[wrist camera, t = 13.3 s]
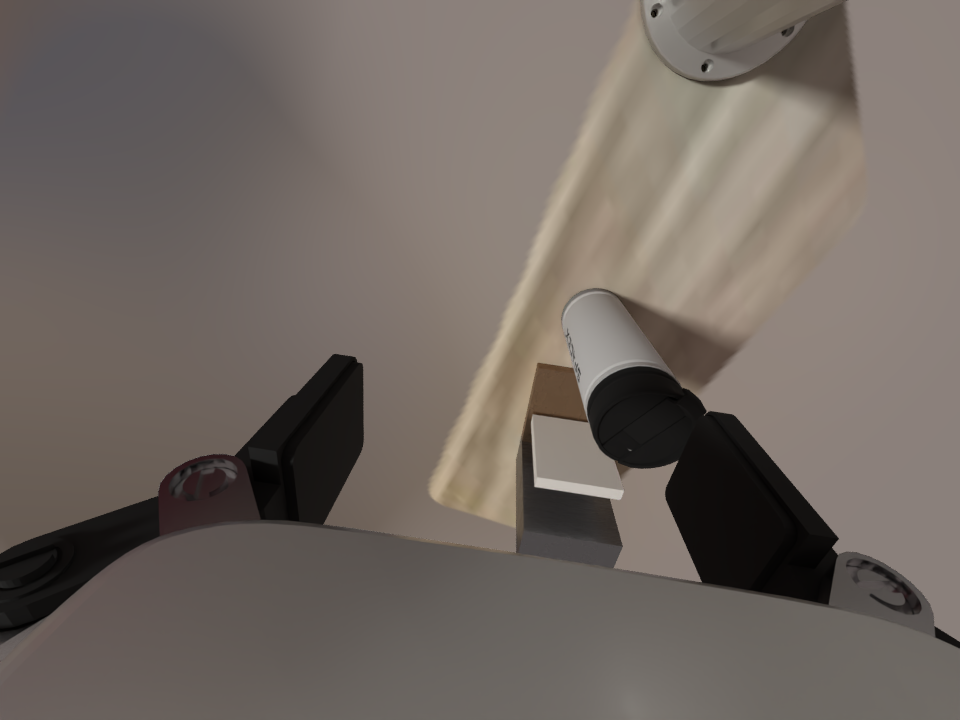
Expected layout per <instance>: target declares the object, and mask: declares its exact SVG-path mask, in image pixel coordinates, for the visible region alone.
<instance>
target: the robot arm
mask: <svg viewBox="0 0 960 720" xmlns="http://www.w3.org/2000/svg"><path fill="white" fill-rule="evenodd" d="M845 1H847V0H640V3H641V16H642V20H643V25H644V29H645V33H646V36H647V38H648V40H649V42H650V44H651V47H652V49H653V50H654V52H655V53H656V54H657V56H658V57H659V58H660V60H661V61H662V62H663V63H664V64H665V65H666V66H668V67H669V68H670V69H671V70H672V71H674V72H675V73H678V74H680V75H682V76H684V77H686V78H689V79H693V80H698V81H720V80H724V79H728V78H732V77H736V76H738V75H741V74H743V73H746V72H749V71H751V70H752V69H754V68H756V67H758V66H760V65H762V64H763V63H765V62H767V61H768V60H769V59H770V58H772V57H773V56H774V55H776V54H777V53H778V52H780V51H781V50H782V49H783V48H784V47H785V46H786V45H787V44H788V43H789V42H790V41H791V40H792V39H793V38H794V37H795V36H796V35H797V34H798V32H799V31H800V30H801V28H802V27H803V26H804V24H805V23H806V22H807V20H808V19H809V18H811V17H813V16H815V15H817V14H819V13H821V12H824V11H826V10H828V9H830V8H832V7H834V6H836V5H838V4H841V3H843V2H845ZM651 11H656V17H655V18H652V16H651ZM783 30H784V33H783V35H782V34H781V31H783ZM702 65H705V67H706V69H705V71H704V72H702V70H701V66H702ZM363 429H364V428H363V365H362V363H357V359H356V358H355V357H352V356H345V355H339V354H334V355H332V356H331V357H330V358H329V360H328V361H327V362H326V363H325V364H324V365H323V366H322V367H321V368H320V369H319V370H318V372H317V373H316V374H315V375H314V376H313V377H312V378H311V379H310V380H309V381H308V382H307V383H306V384H305V386H304V387H303V388H302V389H301V390H300V391H299V392H298V393H297V394H296V395H293V396H291V397H290V398H289V399H288V400H287V401H286V402H285V403H284V404H283V405H282V406H281V407H280V408H279V409H278V410H277V411H276V412H275V413H274V414H273V415H272V417H271V418H270V419H269V420H268V421H267V422H266V423H265V424H264V425H263V426H262V427H261V428H260V429H259V430H258V431H257V433H256V434H255V435H254V436H253V437H252V438H251V439H250V440H249V441H248V442H247V443H246V444H245V445H244V446H243V447H242V449H240V451H239V452H238V453H237V454H236V455H235V456H231V455H227V454H211V455H206V456H200V457H197V458H194V459H192V460H189V461H187V462H185V463H183V464H181V465H179V466H178V467H176V468H174V469H173V470H172V471H171V472H169V473H168V474H167V475H166V476H165V478H164V479H163V480H162V482H161V483H160V486H159V491H158V496H157V497H154V498H151V499H148V500H145V501H142V502H139V503H136V504H133V505H130V506H127V507H124V508H122V509H119V510H116V511H113V512H110V513H107V514H104V515H101V516H98V517H95V518H92V519H89V520H86V521H83V522H80V523H78V524H74V525H71V526H68V527H65V528H62V529H59V530H56V531H54V532H51V533H48V534H45V535H42V536H39V537H36V538H33V539H30V540H28V541H25V542H23V543H21V544H18V545H16V546H13V547H11V548H10V549H8V550H6V551H4V552H3V553H1V554H0V720H960V642H959V641H957V640H956V639H954V638H953V637H951V636H949V635H948V634H946V633H945V632H943V631H941V630H940V629H938V628H936V627H935V626H934V616H933V612H932V609H931V606H930V604H929V602H928V601H927V599H926V598H925V597H924V595H923V594H922V593H921V592H920V591H919V590H918V589H917V588H916V587H915V586H914V585H913V584H912V583H911V582H910V581H909V580H907V579H906V578H905V577H904V576H902V575H901V574H900V573H898V572H897V571H896V570H894V569H892V568H891V567H889V566H887V565H886V564H884V563H882V562H880V561H878V560H876V559H874V558H872V557H870V556H866V555H863V554H860V553H857V552H844V553H841V554H839V555H837V553H836V552H835V551H834V550H833V548H832V547H833V545H834V544H835V543H836V541H837V540H838V539H839V538H838V537H837V536H836V535H835V533H834V532H833V531H832V530H831V529H830V528H829V526H828V525H827V524H826V523H825V522H824V520H823V519H822V518H821V517H820V516H819V515H818V514H817V512H816V511H815V510H814V509H813V508H812V506H811V505H810V504H809V503H808V502H807V500H806V499H805V498H804V497H803V496H802V495H801V493H800V492H799V491H798V490H797V489H796V487H795V486H794V485H793V484H792V483H791V481H790V480H789V479H788V478H787V477H786V476H785V474H784V473H783V472H782V471H781V470H780V469H779V467H778V466H777V465H776V464H775V463H774V461H773V460H772V459H771V458H770V457H769V455H768V454H767V453H766V452H765V451H764V450H763V448H762V447H761V446H760V445H759V444H758V442H757V441H756V440H755V439H754V438H753V437H752V435H751V434H750V433H749V432H748V431H747V430H746V428H745V427H744V426H743V425H742V424H741V423H740V421H739V420H738V419H737V418H736V417H735V416H734V415H732V414H726V413H719V412H712V411H710V412H708V413H706V414H705V416H704V415H702V416H700V417H699V418H698V420H697V422H696V424H695V426H694V429H693V431H692V433H691V435H690V437H689V439H688V441H687V444H686V446H685V448H684V450H683V452H682V454H681V457H680V459H679V461H678V463H677V465H676V467H675V469H674V472H673V474H672V476H671V478H670V480H669V482H668V485H667V487H666V491H665V497H666V501H667V503H668V505H669V508H670V510H671V512H672V515H673V517H674V519H675V522H676V524H677V526H678V528H679V531H680V533H681V535H682V538H683V540H684V542H685V544H686V546H687V549H688V551H689V553H690V556H691V558H692V560H693V563H694V565H695V567H696V569H697V572H698V574H699V576H700V579H701V581H702V582H695V581H689V580H683V579H677V578H671V577H664V576H658V575H653V574H647V573H640V572H634V571H628V570H622V569H615V568H609V567H603V566H597V565H590V564H584V563H578V562H571V561H565V560H559V559H552V558H546V557H539V556H533V555H527V554H520V553H514V552H508V551H501V550H495V549H488V548H481V547H475V546H468V545H461V544H455V543H448V542H442V541H435V540H429V539H422V538H415V537H409V536H402V535H395V534H389V533H382V532H375V531H368V530H361V529H355V528H347V527H339V526H330V525H323V524H324V522H325V520H326V518H327V516H328V514H329V512H330V510H331V509H332V507H333V505H334V502H335V501H336V499H337V497H338V495H339V493H340V491H341V489H342V487H343V486H344V484H345V482H346V480H347V478H348V476H349V474H350V472H351V470H352V468H353V466H354V465H355V463H356V461H357V459H358V457H359V455H360V453H361V450H362V447H363V440H364V436H363V435H364V430H363Z"/></svg>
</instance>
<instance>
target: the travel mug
mask: <svg viewBox="0 0 960 720" xmlns="http://www.w3.org/2000/svg"><path fill="white" fill-rule="evenodd" d="M561 321H562V327H563V331H564V335H565V338H566V342H567V346H568V349H569V353H570V357H571V361H572V364H573V368H574V372H575V376H576V379H577V383H578V387H579V390H580V394H581V398H582V402H583V405H584V409H585V412H586V416H587V419H588V422H589V424H590V428H591V431H592V435H593V438H594V440H595V442H596V444H597V445H598V447H599V449H600V450H601V451H602V452H603V453H604V454H605V455H606V456H608V457H609V458H611V459H613V460H617V461H618V463H620V464H623V465H625V466H628V467H631V468H641V469H643V468H655V467H661V466H665V465H668V464H671V463H673V462H676V461H678V460H679V459H680V457H681V454H682V452H683V450H684V448H685V446H686V444H687V441H688V439H689V437H690V435H691V433H692V431H693V429H694V426H695V424H696V422H697V420H698V418H699V417H700V416H702V415H704V414H705V413H706V409H705V408H704V406H703V404H702V402H701V400H700V399H699V398H698V397H697V396H696V395H694V394H693V393H692V392H691V391H690V390H687V389H685V388H683V389H682V387H681V385H680V383H679V382H678V380H677V379H676V378H675V376H674V375H673V373H672V372H671V370H670V369H669V368H668V366H667V365H666V364H665V362H664V361H663V359H662V358H661V357H660V355H659V354H658V352H657V351H656V350H655V348H654V347H653V345H652V344H651V343H650V341H649V340H648V339H647V337H646V336H645V334H644V333H643V332H642V330H641V329H640V327H639V326H638V325H637V323H636V322H635V321H634V319H633V318H632V316H631V315H630V314H629V312H628V311H627V309H626V308H625V307H624V305H623V304H622V303H621V301H620V300H619V299H618V298H617V296H616V295H614V294H613V293H612V292H609V291H607V290H604V289H599V288H593V289H587V290H584V291H581V292H579V293H577V294H576V295H574V296H573V297H572V298H571V299H570V300H569V301H568V302H567V304H566V305H565V307H564V309H563V313H562V319H561Z"/></svg>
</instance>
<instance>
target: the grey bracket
mask: <svg viewBox="0 0 960 720" xmlns="http://www.w3.org/2000/svg"><path fill="white" fill-rule="evenodd" d="M533 414H534V415H541V416H547V417H554V418H560V419H567V420H574V421H580V422H587V423H589V422H588V419H587V416H586V412H585V409H584V405H583V402H582V398H581V394H580V390H579V387H578V383H577V379H576V376H575V372H574V368H568V367H561V366H555V365H548V364H541V363H538V364H537V368H536V373H535V377H534V382H533V386H532V391H531V395H530V400H529V404H528V409H527V413H526V418H525V422H524V427H523V432H522V436H521V441H520V445H519V450H518V454H517V459H516V553H520V554H527V555H533V556H539V557H546V558H552V559H559V560H565V561H571V562H578V563H584V564H590V565H597V566H603V567H609V568H614V565H615V563H616V561H617V558H618V556H619V554H620V551H621V549H622V547H623V546H622V542H621V539H620V535H619V531H618V527H617V524H616V521H615V516H614V513H613V509H612V506H611V502H610V498H603V497H597V496H590V495H584V494H577V493H571V492H565V491H558V490H552V489H545V488H539V487H534V469H533V452H532V434H531V420H532V416H533Z"/></svg>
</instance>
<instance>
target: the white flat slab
mask: <svg viewBox="0 0 960 720" xmlns="http://www.w3.org/2000/svg"><path fill="white" fill-rule="evenodd" d="M531 434H532V452H533V469H534V487H539V488H545V489H552V490H558V491H565V492H571V493H577V494H584V495H590V496H597V497H603V498H610V499H616V500H621V498H622V495H623V493H624V488H623V485H622V482H621V479H620V476H619V473H618V470H617V467H616V463H615V460H613V459H611V458H609V457H608V456H606V455H605V454H604V453H603V452H602V451H601V450H600V449H599V447H598V445H597V444H596V442H595V440H594V438H593V435H592V431H591V428H590V424H589V423H587V422H580V421H574V420H567V419H560V418H554V417H547V416H541V415H534V414H533V416H532V420H531Z"/></svg>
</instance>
